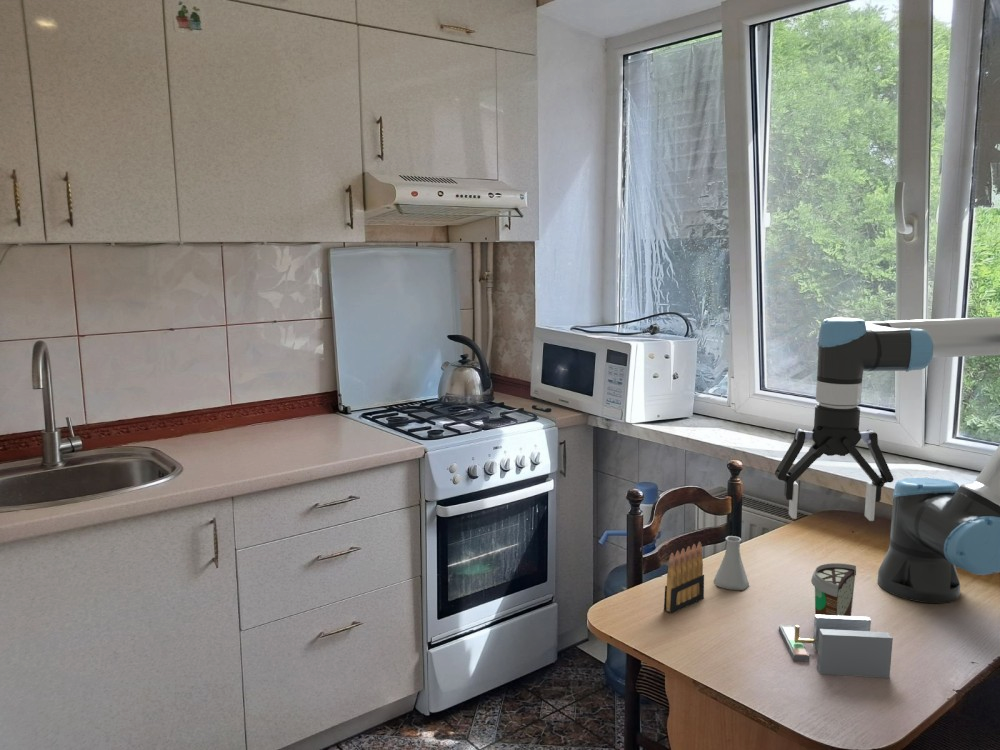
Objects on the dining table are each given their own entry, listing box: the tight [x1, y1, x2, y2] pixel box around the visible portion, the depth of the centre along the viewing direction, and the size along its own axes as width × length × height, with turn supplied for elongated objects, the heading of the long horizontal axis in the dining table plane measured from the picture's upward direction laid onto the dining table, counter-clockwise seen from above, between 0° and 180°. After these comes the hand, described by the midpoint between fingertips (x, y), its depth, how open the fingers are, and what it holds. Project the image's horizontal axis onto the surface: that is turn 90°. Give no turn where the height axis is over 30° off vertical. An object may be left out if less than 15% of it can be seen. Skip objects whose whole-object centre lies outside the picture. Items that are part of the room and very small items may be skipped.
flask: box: [713, 535, 750, 591], centre depth 167 cm, size 7×7×10 cm
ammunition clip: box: [663, 541, 705, 615], centre depth 158 cm, size 11×2×12 cm, turn 131°
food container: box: [810, 562, 857, 616], centre depth 151 cm, size 12×6×10 cm, turn 141°
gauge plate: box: [794, 614, 872, 651], centre depth 139 cm, size 12×1×6 cm, turn 84°
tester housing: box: [778, 624, 894, 679], centre depth 139 cm, size 14×15×7 cm
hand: (830, 517), depth 147 cm, fingers open, 13 cm apart
